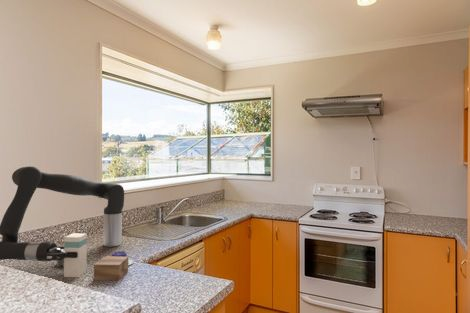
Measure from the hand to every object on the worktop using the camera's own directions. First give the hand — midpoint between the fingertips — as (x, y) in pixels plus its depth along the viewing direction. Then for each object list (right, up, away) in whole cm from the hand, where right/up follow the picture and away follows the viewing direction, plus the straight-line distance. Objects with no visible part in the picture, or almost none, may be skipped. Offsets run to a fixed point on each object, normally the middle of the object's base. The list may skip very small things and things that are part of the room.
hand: (81, 252), depth 127 cm
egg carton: (-12, -9, +13) cm, 20 cm away
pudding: (+11, -10, +13) cm, 19 cm away
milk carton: (-3, -9, 0) cm, 9 cm away
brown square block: (+12, -9, 0) cm, 15 cm away
